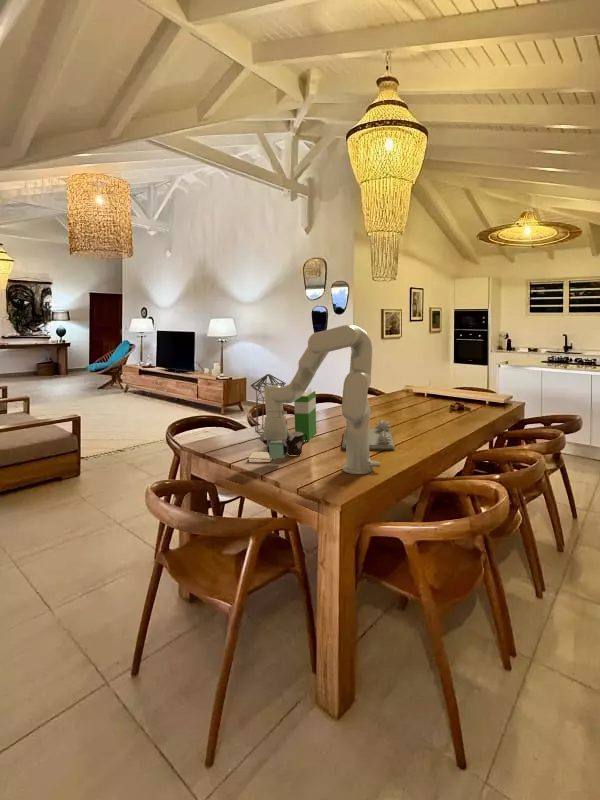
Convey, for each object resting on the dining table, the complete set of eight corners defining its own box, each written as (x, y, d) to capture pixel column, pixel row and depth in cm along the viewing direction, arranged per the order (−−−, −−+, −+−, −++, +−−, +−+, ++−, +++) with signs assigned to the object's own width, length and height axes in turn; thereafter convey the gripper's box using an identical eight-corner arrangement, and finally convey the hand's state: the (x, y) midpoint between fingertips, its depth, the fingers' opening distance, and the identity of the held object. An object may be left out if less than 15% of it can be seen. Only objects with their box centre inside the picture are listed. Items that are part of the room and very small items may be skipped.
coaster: (275, 456, 212) (275, 452, 211) (270, 462, 202) (270, 458, 201) (254, 455, 213) (254, 451, 213) (248, 462, 204) (248, 457, 203)
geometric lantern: (251, 441, 240) (248, 375, 235) (263, 435, 254) (260, 372, 249) (279, 442, 235) (276, 375, 230) (289, 436, 249) (287, 372, 244)
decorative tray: (344, 433, 253) (344, 416, 252) (391, 434, 250) (391, 416, 248) (342, 451, 219) (341, 431, 217) (396, 451, 216) (396, 431, 214)
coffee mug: (288, 458, 208) (287, 437, 206) (283, 453, 216) (282, 432, 215) (312, 455, 211) (311, 434, 209) (306, 450, 219) (306, 430, 218)
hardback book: (303, 433, 254) (302, 391, 250) (316, 433, 252) (315, 391, 248) (295, 441, 237) (294, 396, 233) (309, 441, 236) (308, 396, 232)
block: (286, 454, 201) (285, 440, 200) (283, 458, 195) (282, 444, 194) (272, 454, 202) (271, 441, 201) (269, 458, 196) (268, 444, 195)
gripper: (295, 411, 198) (298, 451, 200) (257, 413, 201) (260, 452, 203) (292, 415, 190) (295, 456, 193) (253, 416, 193) (256, 457, 196)
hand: (277, 454), depth 198 cm, fingers closed on block, 6 cm apart
